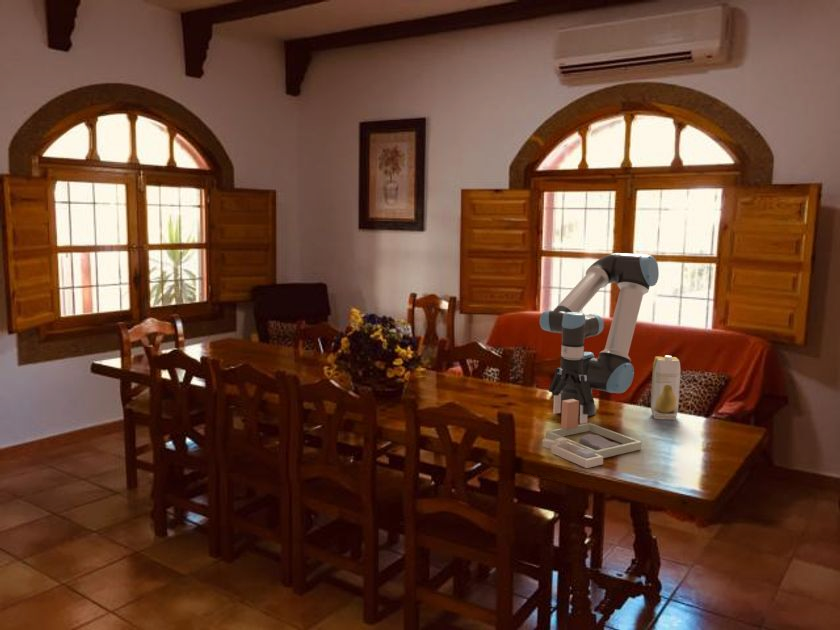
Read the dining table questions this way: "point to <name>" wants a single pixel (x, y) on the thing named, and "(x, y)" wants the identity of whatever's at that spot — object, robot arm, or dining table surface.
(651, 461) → the dining table surface
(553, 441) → the snapped post
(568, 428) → the shallow white tray
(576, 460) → the tray
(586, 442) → the stone block
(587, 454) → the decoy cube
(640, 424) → the dining table surface
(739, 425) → the dining table surface
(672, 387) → the juice carton
